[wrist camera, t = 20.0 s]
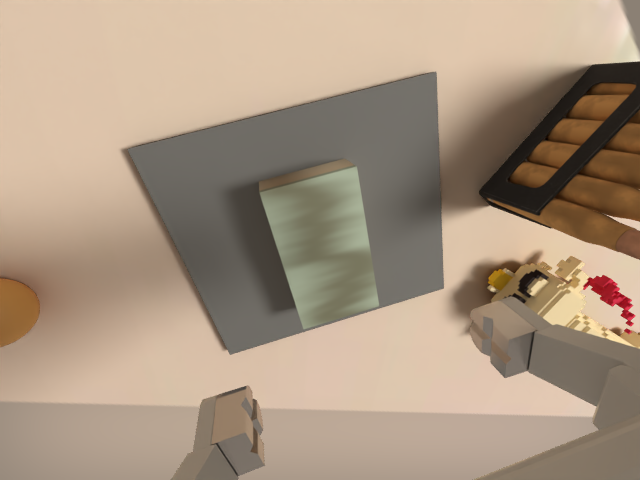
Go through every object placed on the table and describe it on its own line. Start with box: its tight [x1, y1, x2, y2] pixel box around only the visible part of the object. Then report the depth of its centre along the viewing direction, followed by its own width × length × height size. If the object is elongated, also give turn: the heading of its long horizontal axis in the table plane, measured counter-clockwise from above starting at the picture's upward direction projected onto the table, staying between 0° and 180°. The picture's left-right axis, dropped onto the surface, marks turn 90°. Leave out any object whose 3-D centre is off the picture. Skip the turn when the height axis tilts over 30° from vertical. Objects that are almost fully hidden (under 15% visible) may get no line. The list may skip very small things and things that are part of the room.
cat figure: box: [487, 256, 640, 349], centre depth 27 cm, size 10×9×25 cm
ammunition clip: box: [479, 62, 640, 260], centre depth 16 cm, size 11×2×12 cm, turn 142°
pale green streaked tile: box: [259, 159, 379, 329], centre depth 20 cm, size 6×2×10 cm
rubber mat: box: [127, 72, 444, 355], centre depth 21 cm, size 18×16×1 cm
